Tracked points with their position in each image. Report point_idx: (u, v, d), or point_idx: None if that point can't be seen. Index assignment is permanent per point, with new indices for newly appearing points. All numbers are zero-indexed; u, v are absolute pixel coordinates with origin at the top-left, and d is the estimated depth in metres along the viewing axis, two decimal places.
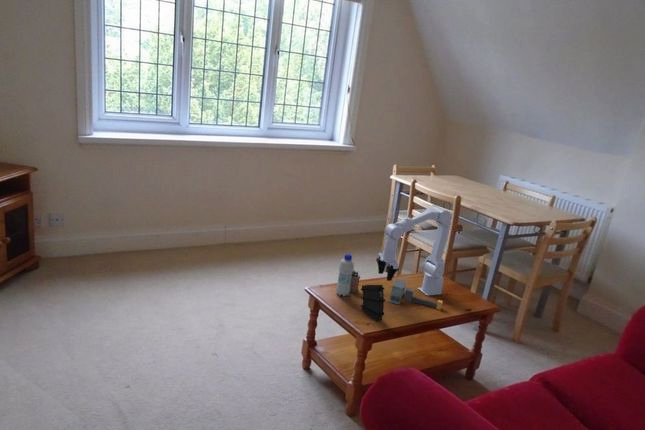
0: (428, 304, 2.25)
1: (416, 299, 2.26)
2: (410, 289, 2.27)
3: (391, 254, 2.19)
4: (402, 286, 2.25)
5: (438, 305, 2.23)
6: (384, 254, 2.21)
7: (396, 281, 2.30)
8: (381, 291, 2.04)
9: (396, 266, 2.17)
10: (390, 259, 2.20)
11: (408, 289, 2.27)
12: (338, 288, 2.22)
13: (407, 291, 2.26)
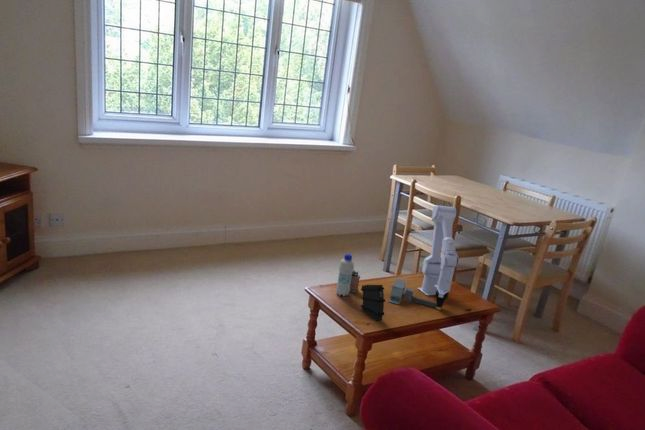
0: (428, 304, 2.25)
1: (416, 299, 2.26)
2: (410, 289, 2.27)
3: (442, 282, 2.18)
4: (402, 286, 2.25)
5: None
6: (438, 281, 2.21)
7: (396, 281, 2.30)
8: (381, 291, 2.04)
9: (441, 295, 2.15)
10: (441, 287, 2.19)
11: (408, 289, 2.27)
12: (338, 288, 2.22)
13: (407, 291, 2.26)
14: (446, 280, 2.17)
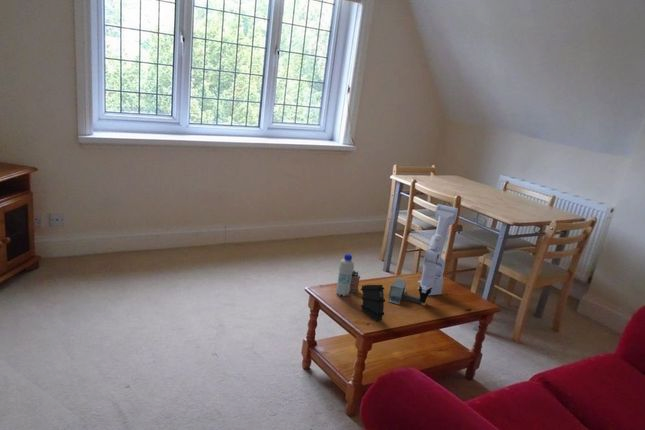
0: (413, 300, 2.27)
1: None
2: None
3: (425, 278, 2.20)
4: (402, 286, 2.25)
5: None
6: (421, 277, 2.23)
7: (396, 281, 2.30)
8: (381, 291, 2.04)
9: (424, 290, 2.17)
10: (424, 283, 2.21)
11: None
12: (338, 288, 2.22)
13: None
14: (426, 275, 2.20)
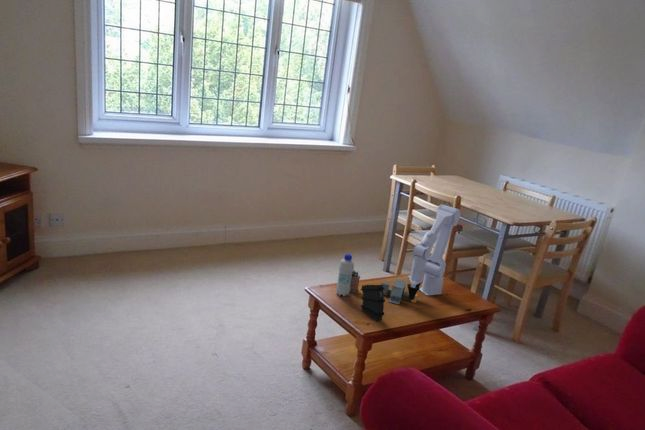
0: (403, 297, 2.28)
1: None
2: (386, 283, 2.30)
3: (415, 273, 2.22)
4: (402, 286, 2.25)
5: None
6: (411, 272, 2.25)
7: (396, 281, 2.30)
8: (381, 291, 2.04)
9: (413, 285, 2.18)
10: (414, 278, 2.22)
11: (384, 282, 2.30)
12: (338, 288, 2.22)
13: (383, 284, 2.29)
14: (414, 269, 2.22)
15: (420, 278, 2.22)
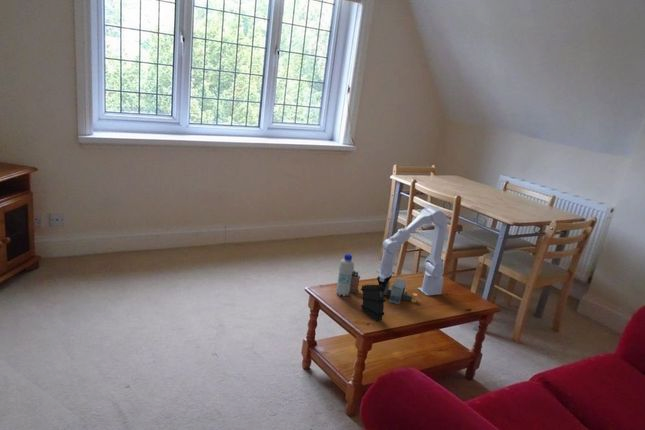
0: (403, 297, 2.28)
1: None
2: None
3: (384, 267, 2.26)
4: (402, 286, 2.25)
5: (413, 298, 2.26)
6: None
7: (396, 281, 2.30)
8: (381, 291, 2.04)
9: (381, 278, 2.23)
10: (383, 272, 2.27)
11: None
12: (338, 288, 2.22)
13: None
14: (381, 262, 2.28)
15: (389, 272, 2.27)
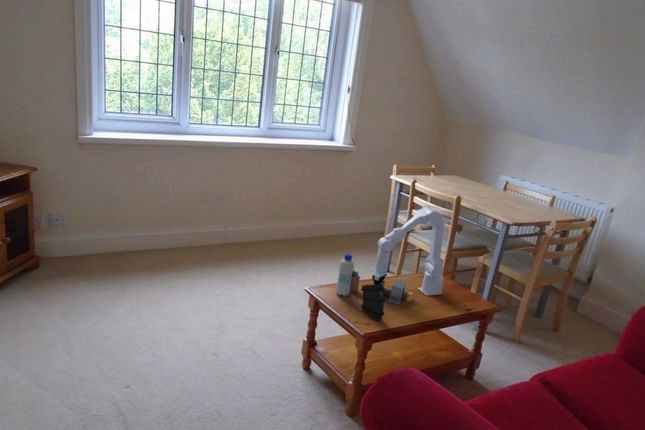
0: None
1: (387, 291, 2.31)
2: None
3: (379, 266, 2.27)
4: (402, 286, 2.25)
5: (408, 297, 2.27)
6: (375, 265, 2.30)
7: (396, 281, 2.30)
8: (381, 291, 2.04)
9: (376, 277, 2.24)
10: (378, 270, 2.28)
11: None
12: (338, 288, 2.22)
13: None
14: (376, 260, 2.28)
15: (384, 271, 2.27)
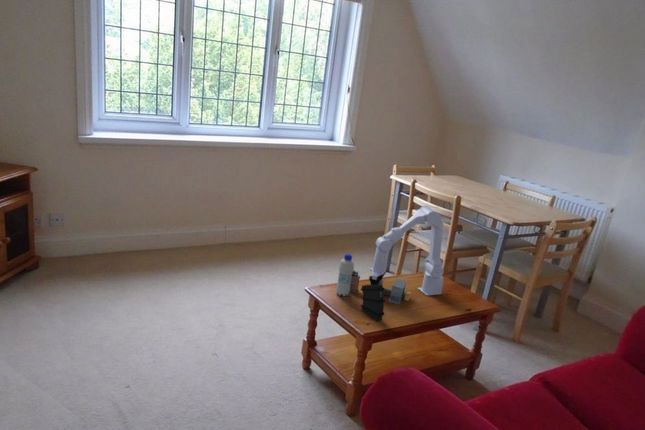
0: None
1: (385, 290, 2.31)
2: None
3: (376, 265, 2.27)
4: (402, 286, 2.25)
5: (406, 296, 2.27)
6: None
7: (396, 281, 2.30)
8: (381, 291, 2.04)
9: (374, 277, 2.24)
10: (376, 270, 2.28)
11: None
12: (338, 288, 2.22)
13: None
14: (374, 260, 2.29)
15: (382, 270, 2.28)
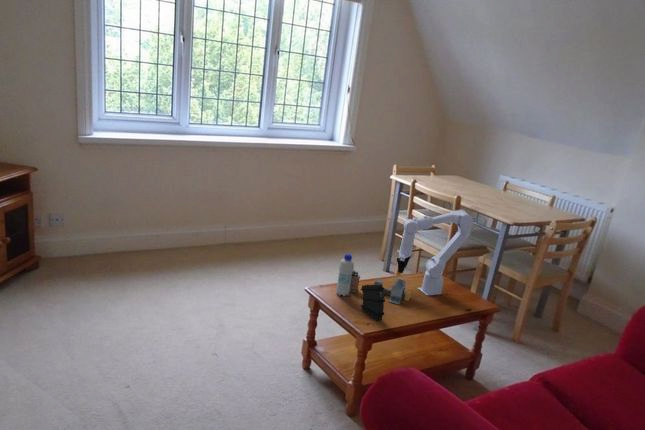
0: None
1: (385, 290, 2.31)
2: (379, 281, 2.31)
3: (404, 247, 2.31)
4: (402, 286, 2.25)
5: (406, 296, 2.27)
6: None
7: (396, 281, 2.30)
8: (381, 291, 2.04)
9: (402, 258, 2.28)
10: (403, 252, 2.32)
11: (377, 281, 2.31)
12: (338, 288, 2.22)
13: (376, 283, 2.30)
14: (401, 242, 2.33)
15: (409, 252, 2.31)
